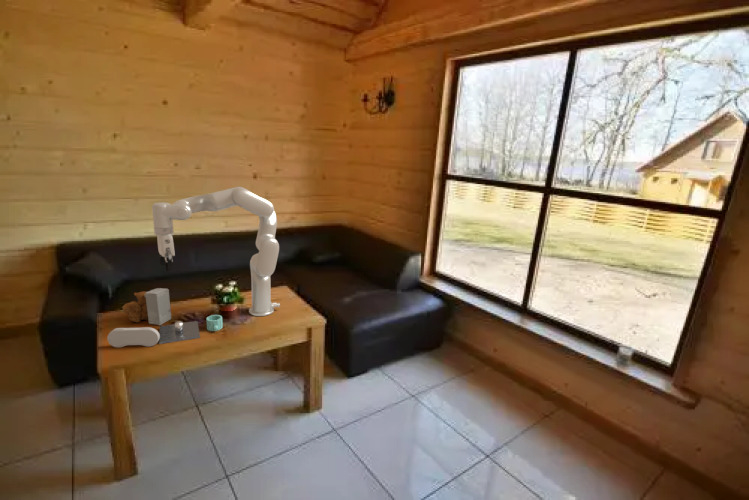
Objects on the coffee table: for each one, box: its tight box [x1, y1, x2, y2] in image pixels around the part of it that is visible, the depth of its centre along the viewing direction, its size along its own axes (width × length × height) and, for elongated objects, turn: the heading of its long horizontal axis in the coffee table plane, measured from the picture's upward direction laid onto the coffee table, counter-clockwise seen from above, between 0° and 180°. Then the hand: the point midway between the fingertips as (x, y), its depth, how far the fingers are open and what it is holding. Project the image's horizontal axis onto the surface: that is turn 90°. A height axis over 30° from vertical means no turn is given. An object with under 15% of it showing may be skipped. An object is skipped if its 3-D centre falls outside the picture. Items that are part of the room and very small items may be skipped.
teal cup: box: [206, 314, 224, 332], centre depth 180 cm, size 7×9×5 cm
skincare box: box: [145, 287, 172, 326], centre depth 182 cm, size 8×7×16 cm
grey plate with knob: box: [158, 320, 201, 345], centre depth 174 cm, size 16×16×5 cm
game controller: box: [106, 326, 160, 348], centre depth 161 cm, size 20×2×8 cm, turn 100°
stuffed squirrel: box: [121, 290, 148, 323], centre depth 184 cm, size 10×14×13 cm
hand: (167, 267), depth 174 cm, fingers open, 9 cm apart
